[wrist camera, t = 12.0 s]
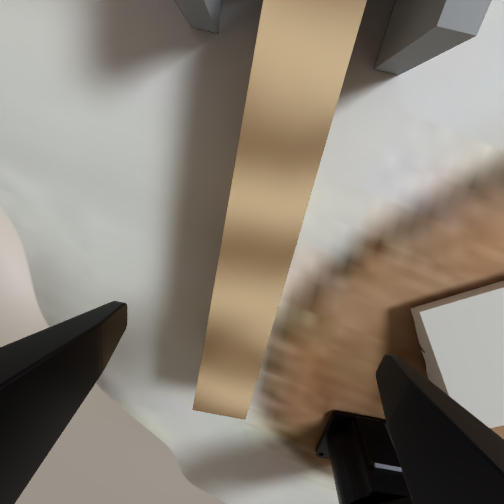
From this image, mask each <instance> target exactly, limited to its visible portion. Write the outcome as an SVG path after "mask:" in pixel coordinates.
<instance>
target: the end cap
mask: <svg viewBox="0 0 504 504" xmlns="http://www.w3.org/2000/svg"><path fill="white" fill-rule="evenodd" d="M174 1H175V2H176V4H177V5H178V7H179V9H180V10H181V12H182V13H183V15H184V16H185V18H186V19H187V21H188V23H189V24H190V26H191V27H193V28H197V29H201V30H206V31H210V32H215V33H218V30H219V22H220V13H221V5H222V0H174ZM490 3H491V0H396V1H395V4H394V7H393V11H392V14H391V17H390V20H389V23H388V26H387V29H386V33H385V36H384V39H383V42H382V45H381V48H380V51H379V55H378V58H377V61H376V64H375V67H374V69H376V70H381V71H385V72H389V73H394V74H398V75H400V74H402V73H404V72H406V71H408V70H410V69H412V68H414V67H416V66H418V65H420V64H422V63H423V62H425V61H427V60H429V59H431V58H433V57H435V56H437V55H439V54H441V53H443V52H445V51H447V50H449V49H451V48H453V47H455V46H457V45H459V44H461V43H463V42H465V41H467V40H469V39H471V38H473V37H475V36H476V35H477V33H478V31H479V28H480V26H481V24H482V21H483V19H484V17H485V14H486V12H487V10H488V7H489V5H490Z"/></svg>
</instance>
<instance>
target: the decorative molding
mask: <svg viewBox="0 0 504 504" xmlns="http://www.w3.org/2000/svg"><path fill="white" fill-rule="evenodd" d="M411 312H412V316H413V319H414V322H415V328H416V332H417V336H418V340H419V344H420V345H421V347H422V349H423V350H421V352H422V354H423V356H424V359H425V363H426V372H427V375H428V379H429V380H430V381H431V382H432V383H433V384H435V385H436V386H437V387H439V388H440V389H441V390H442V391H444V392H445V393H446V394H447V395H449V396H450V397H451V398H452V399H454V400H455V401H456V402H457V403H459V404H460V405H461V406H462V407H464V408H465V409H466V410H467V411H469V412H470V413H471V414H472V415H474V416H475V417H476V418H477V419H479V420H480V421H481V422H482V423H484V424H485V425H486V426H487V427H489V428H493V427H498V426H503V425H504V280H503V281H500V282H497V283H493V284H490V285H487V286H483V287H480V288H477V289H473V290H470V291H467V292H463V293H460V294H457V295H453V296H450V297H447V298H443V299H440V300H437V301H433V302H430V303H426V304H423V305H420V306H416V307H413V308H411Z"/></svg>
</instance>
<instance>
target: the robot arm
mask: <svg viewBox="0 0 504 504" xmlns="http://www.w3.org/2000/svg"><path fill="white" fill-rule="evenodd" d="M126 326H127V304H126V303H123V302H118V301H113V302H110V303H108V304H105V305H103V306H100V307H98V308H95V309H93V310H91V311H88V312H86V313H83V314H81V315H78V316H76V317H74V318H71V319H69V320H66V321H64V322H61V323H59V324H57V325H54V326H52V327H49V328H47V329H44V330H42V331H40V332H37V333H35V334H32V335H30V336H27V337H25V338H22V339H20V340H18V341H15V342H13V343H10V344H8V345H5V346H3V347H0V504H15V502H16V501H17V499H18V498H19V496H20V495H21V493H22V492H23V490H24V489H25V487H26V486H27V484H28V483H29V481H30V480H31V478H32V477H33V475H34V474H35V472H36V471H37V469H38V468H39V466H40V465H41V463H42V462H43V460H44V459H45V457H46V456H47V454H48V453H49V451H50V450H51V448H52V447H53V445H54V444H55V442H56V441H57V439H58V438H59V437H60V435H61V434H62V432H63V431H64V429H65V427H66V426H67V425H68V423H69V422H70V420H71V419H72V417H73V416H74V414H75V413H76V411H77V410H78V408H79V407H80V405H81V404H82V402H83V401H84V399H85V398H86V396H87V395H88V393H89V392H90V390H91V389H92V387H93V386H94V384H95V383H96V381H97V380H98V378H99V377H100V375H101V374H102V372H103V371H104V369H105V367H106V365H107V363H108V361H109V360H110V358H111V356H112V354H113V352H114V350H115V348H116V346H117V344H118V343H119V341H120V339H121V337H122V335H123V333H124V331H125V329H126ZM376 380H377V384H378V389H379V393H380V397H381V402H382V406H383V410H384V415H385V419H386V420H383V419H378V418H373V417H367V416H362V415H356V414H351V413H346V412H340V411H335V412H333V413H332V415H331V417H330V420H329V422H328V424H327V426H326V428H325V430H324V433H323V435H322V437H321V439H320V441H319V443H318V445H317V448H316V455H317V456H318V457H321V458H327V459H330V461H331V465H332V470H333V475H334V480H335V485H336V490H337V495H338V500H339V504H504V439H503V438H501V437H500V436H499V435H497V434H496V433H495V432H494V431H492V430H491V429H490V428H489V427H487V426H486V425H485V424H484V423H482V422H481V421H480V420H479V419H477V418H476V417H475V416H474V415H472V414H471V413H470V412H469V411H467V410H466V409H465V408H464V407H462V406H461V405H460V404H459V403H457V402H456V401H455V400H454V399H452V398H451V397H450V396H449V395H447V394H446V393H445V392H444V391H442V390H441V389H440V388H439V387H437V386H436V385H435V384H433V383H432V382H431V381H430V380H428V379H427V378H426V377H425V376H423V375H422V374H421V373H420V372H418V371H417V370H416V369H415V368H413V367H412V366H411V365H410V364H408V363H407V362H406V361H405V360H403V359H402V358H401V357H399V356H397V355H392V354H386V355H384V357H383V359H382V361H381V363H380V365H379V367H378V369H377V371H376ZM392 441H393V442H392Z"/></svg>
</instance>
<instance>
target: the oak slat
mask: <svg viewBox="0 0 504 504" xmlns="http://www.w3.org/2000/svg"><path fill="white" fill-rule="evenodd" d="M366 2H367V0H263V4H262V10H261V16H260V21H259V27H258V33H257V39H256V45H255V51H254V56H253V62H252V68H251V74H250V80H249V85H248V91H247V97H246V103H245V109H244V114H243V120H242V126H241V132H240V138H239V143H238V149H237V155H236V161H235V167H234V173H233V178H232V184H231V190H230V196H229V202H228V207H227V213H226V219H225V225H224V231H223V236H222V242H221V248H220V254H219V260H218V265H217V271H216V277H215V283H214V289H213V295H212V300H211V306H210V312H209V318H208V324H207V329H206V335H205V341H204V347H203V353H202V358H201V364H200V370H199V376H198V382H197V387H196V393H195V399H194V405H193V410H196V411H202V412H207V413H212V414H218V415H223V416H228V417H234V418H239V419H246V416H247V412H248V409H249V405H250V402H251V399H252V395H253V392H254V388H255V385H256V381H257V378H258V374H259V371H260V368H261V364H262V361H263V357H264V354H265V350H266V347H267V343H268V340H269V336H270V333H271V330H272V326H273V323H274V319H275V316H276V312H277V309H278V305H279V302H280V299H281V295H282V292H283V288H284V285H285V281H286V278H287V274H288V271H289V268H290V264H291V261H292V257H293V254H294V250H295V247H296V243H297V240H298V237H299V233H300V230H301V226H302V223H303V219H304V216H305V212H306V209H307V206H308V202H309V199H310V195H311V192H312V188H313V185H314V181H315V178H316V174H317V171H318V168H319V164H320V161H321V157H322V154H323V150H324V147H325V143H326V140H327V137H328V133H329V130H330V126H331V123H332V119H333V116H334V112H335V109H336V106H337V102H338V99H339V95H340V92H341V88H342V85H343V81H344V78H345V75H346V71H347V68H348V64H349V61H350V57H351V54H352V50H353V47H354V44H355V40H356V37H357V33H358V30H359V26H360V23H361V19H362V16H363V13H364V9H365V6H366Z"/></svg>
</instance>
